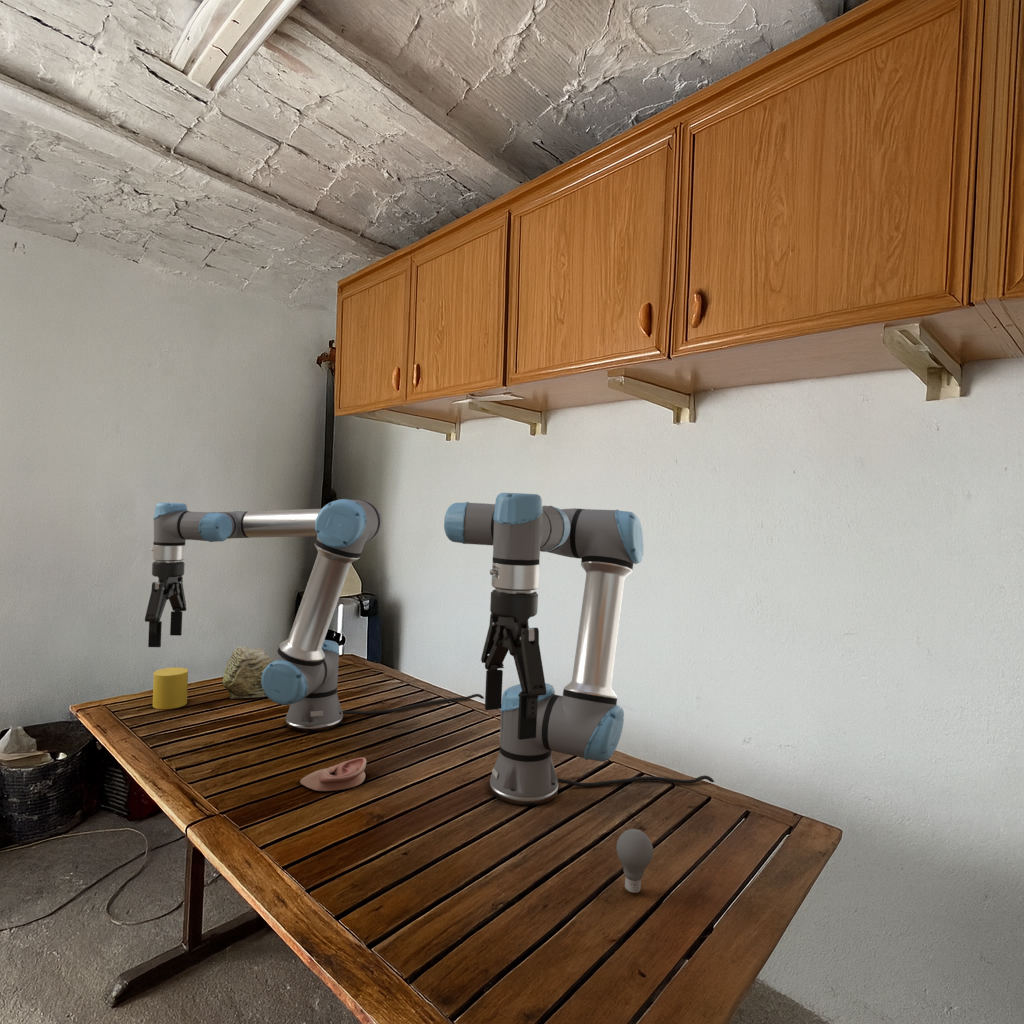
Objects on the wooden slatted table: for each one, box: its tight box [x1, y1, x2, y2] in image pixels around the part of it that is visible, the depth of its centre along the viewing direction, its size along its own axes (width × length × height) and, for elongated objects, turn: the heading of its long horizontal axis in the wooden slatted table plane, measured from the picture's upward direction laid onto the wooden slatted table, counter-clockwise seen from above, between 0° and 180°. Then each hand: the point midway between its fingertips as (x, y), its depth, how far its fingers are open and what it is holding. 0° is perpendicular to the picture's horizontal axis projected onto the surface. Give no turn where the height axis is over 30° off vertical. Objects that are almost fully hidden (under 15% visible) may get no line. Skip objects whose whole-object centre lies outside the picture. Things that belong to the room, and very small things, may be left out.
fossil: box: [222, 646, 274, 699], centre depth 198 cm, size 9×18×15 cm, turn 132°
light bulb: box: [615, 828, 654, 894], centre depth 106 cm, size 6×6×10 cm
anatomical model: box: [299, 756, 367, 792], centre depth 141 cm, size 13×4×12 cm
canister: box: [152, 666, 189, 710], centre depth 186 cm, size 9×9×10 cm
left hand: (165, 641), depth 168 cm, fingers open, 13 cm apart
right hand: (508, 722), depth 101 cm, fingers open, 13 cm apart
